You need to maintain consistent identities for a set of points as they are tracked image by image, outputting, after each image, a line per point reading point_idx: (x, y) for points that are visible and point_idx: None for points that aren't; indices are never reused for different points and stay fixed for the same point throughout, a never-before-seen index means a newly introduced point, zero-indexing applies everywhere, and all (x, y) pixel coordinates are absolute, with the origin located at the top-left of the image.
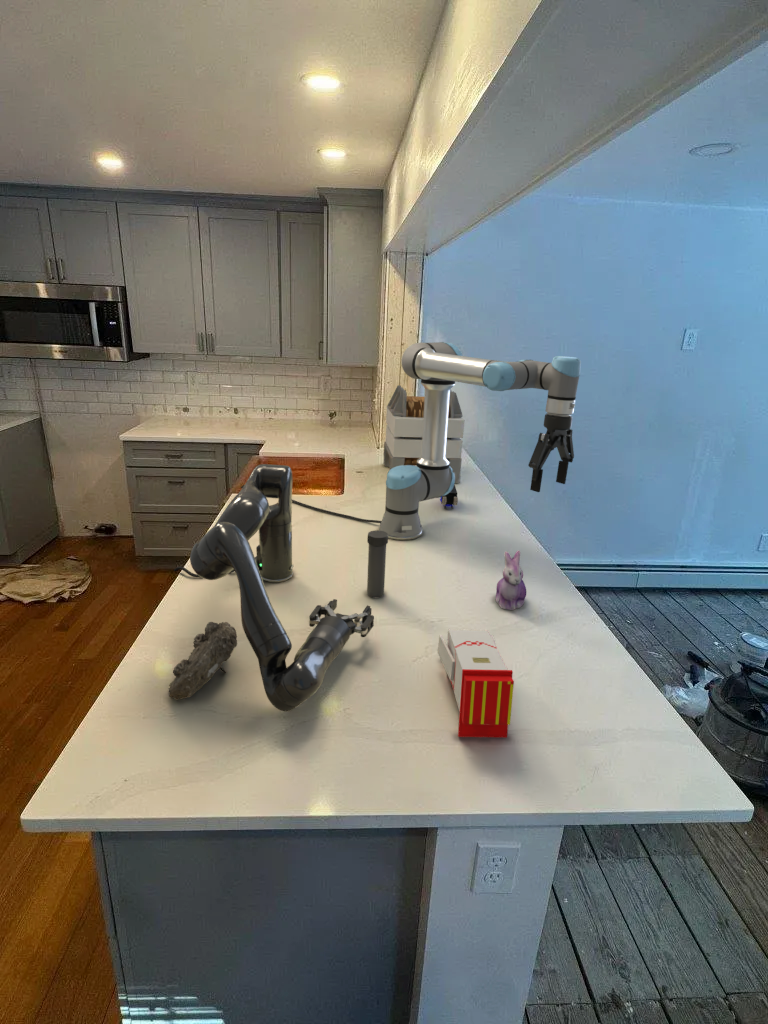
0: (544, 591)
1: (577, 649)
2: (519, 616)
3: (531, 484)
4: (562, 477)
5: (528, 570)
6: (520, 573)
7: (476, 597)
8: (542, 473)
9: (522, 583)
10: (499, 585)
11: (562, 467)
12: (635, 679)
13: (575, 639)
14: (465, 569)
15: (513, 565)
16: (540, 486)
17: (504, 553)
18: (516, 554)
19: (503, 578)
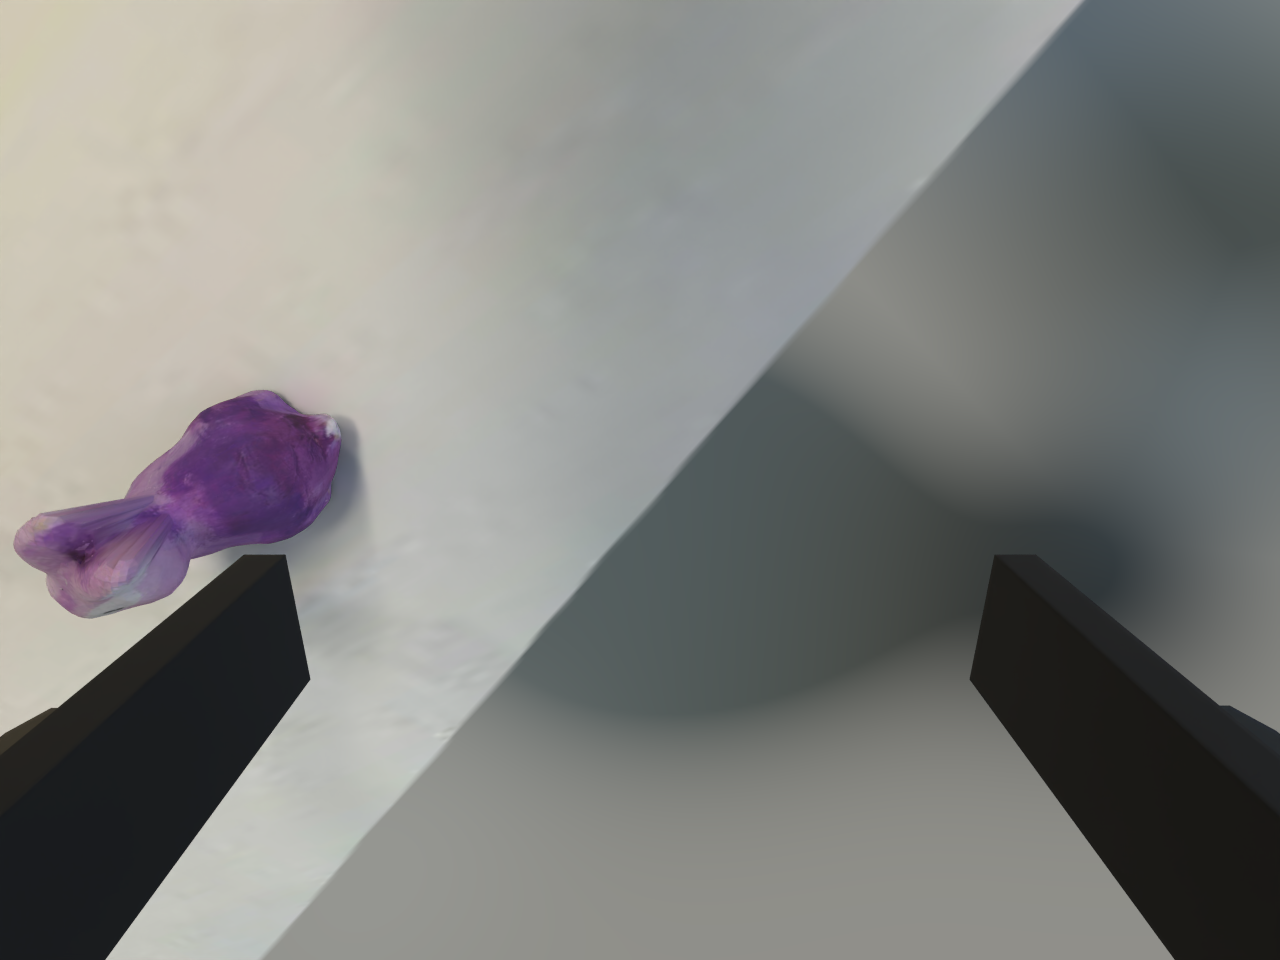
0: (500, 499)
1: (246, 777)
2: (223, 554)
3: (187, 611)
4: (1029, 708)
5: (635, 317)
6: (116, 609)
7: (159, 334)
8: (104, 956)
9: (252, 537)
10: (170, 449)
11: (1165, 837)
12: (274, 920)
13: (291, 748)
14: (327, 57)
15: (63, 587)
16: (265, 735)
17: (27, 521)
18: (84, 583)
19: (181, 458)
